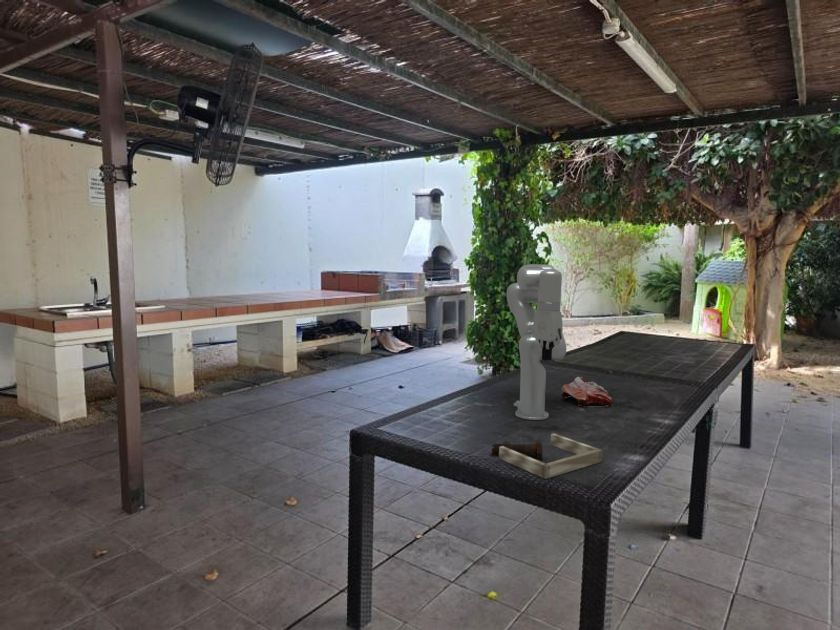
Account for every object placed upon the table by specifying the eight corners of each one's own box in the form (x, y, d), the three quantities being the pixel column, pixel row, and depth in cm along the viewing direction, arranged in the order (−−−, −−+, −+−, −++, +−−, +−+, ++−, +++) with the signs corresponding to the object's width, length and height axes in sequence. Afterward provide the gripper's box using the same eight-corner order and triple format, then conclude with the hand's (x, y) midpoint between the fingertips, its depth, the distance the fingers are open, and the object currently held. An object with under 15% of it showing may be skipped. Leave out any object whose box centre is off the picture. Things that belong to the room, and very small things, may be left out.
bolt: (491, 459, 165) (541, 461, 162) (491, 456, 160) (542, 458, 158) (491, 440, 167) (540, 441, 165) (491, 437, 162) (542, 438, 160)
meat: (623, 402, 228) (624, 379, 228) (599, 412, 214) (600, 387, 213) (578, 394, 243) (579, 372, 242) (553, 402, 228) (554, 379, 227)
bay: (498, 458, 160) (499, 446, 160) (553, 444, 174) (554, 433, 173) (545, 479, 145) (546, 466, 145) (601, 461, 158) (602, 450, 158)
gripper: (525, 305, 186) (523, 356, 188) (557, 310, 173) (555, 365, 176) (540, 303, 190) (538, 354, 192) (573, 308, 177) (570, 362, 180)
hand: (546, 359), depth 184 cm, fingers closed
